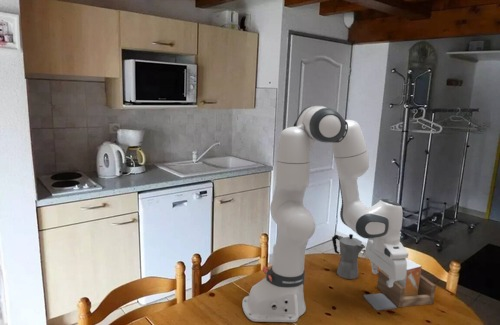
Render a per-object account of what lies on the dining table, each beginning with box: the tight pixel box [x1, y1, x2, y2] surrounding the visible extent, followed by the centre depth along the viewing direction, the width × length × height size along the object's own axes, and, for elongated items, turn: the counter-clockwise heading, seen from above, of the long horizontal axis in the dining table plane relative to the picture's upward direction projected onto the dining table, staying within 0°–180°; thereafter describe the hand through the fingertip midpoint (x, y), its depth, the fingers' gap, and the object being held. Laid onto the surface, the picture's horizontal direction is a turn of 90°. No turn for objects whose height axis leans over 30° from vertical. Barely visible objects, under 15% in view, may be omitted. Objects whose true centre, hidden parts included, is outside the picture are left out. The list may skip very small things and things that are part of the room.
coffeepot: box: [331, 233, 366, 280], centre depth 153 cm, size 15×9×18 cm, turn 44°
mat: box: [362, 292, 398, 311], centre depth 133 cm, size 8×9×1 cm
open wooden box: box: [376, 269, 437, 308], centre depth 138 cm, size 15×14×8 cm
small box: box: [397, 258, 423, 297], centre depth 138 cm, size 8×6×13 cm
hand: (381, 279), depth 132 cm, fingers open, 8 cm apart
